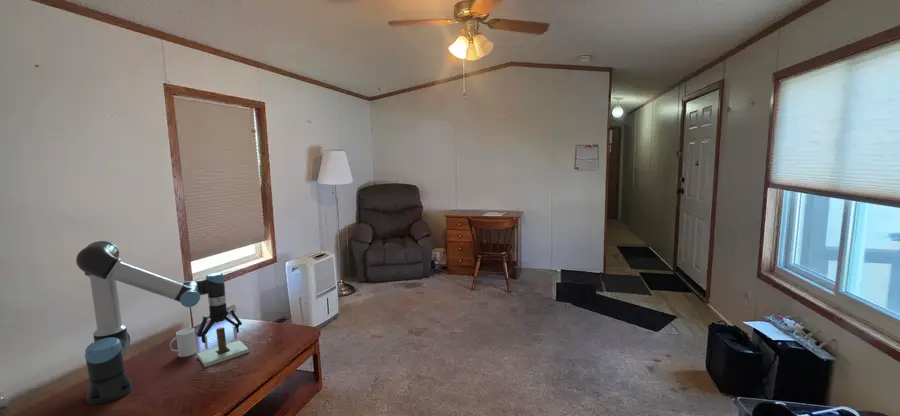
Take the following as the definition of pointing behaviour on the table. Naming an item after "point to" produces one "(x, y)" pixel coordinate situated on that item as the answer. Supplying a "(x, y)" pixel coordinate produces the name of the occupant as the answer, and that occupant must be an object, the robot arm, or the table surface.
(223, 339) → the peg
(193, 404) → the table surface
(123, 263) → the robot arm
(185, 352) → the mug
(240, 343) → the socket board
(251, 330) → the table surface
